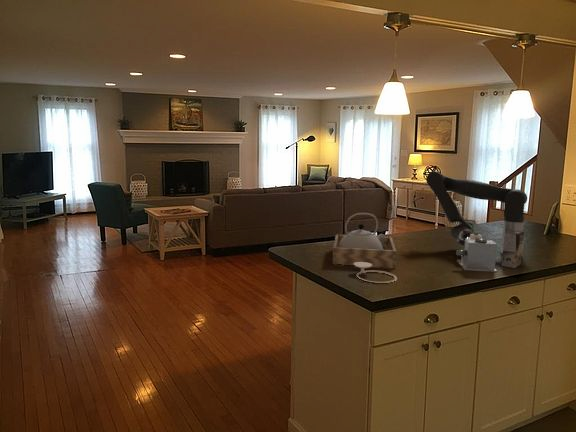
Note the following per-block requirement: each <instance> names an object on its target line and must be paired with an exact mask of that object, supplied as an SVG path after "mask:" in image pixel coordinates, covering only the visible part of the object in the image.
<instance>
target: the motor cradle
mask: <svg viewBox="0 0 576 432" xmlns="http://www.w3.org/2000/svg"><path fill="white" fill-rule="evenodd" d="M497 247H498V244H497V243H496V242H495V241H494V240H490V239H489V240H488V239H487V238H483V237H482V238H475V240H467V239H465V245H464V249H456V253H455V254H456V256H461V257H460V258H461V259H460V258H459V259H456V262H457V263H458V264H459V265H460V266H461V268H462V269H463V270H464V271H471V272H472V271H476V272H492V273H494V272H495V273H498V270H497V269H496V268H495V267H496V260H497V251H498V250H497Z"/></svg>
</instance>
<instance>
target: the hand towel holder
mask: <svg viewBox="0 0 576 432" xmlns="http://www.w3.org/2000/svg"><path fill="white" fill-rule="evenodd" d="M353 264H354V265H355V266H354V267H355V268H360V271H359V272H358V273H356V276H357V277H358V278H359V279H362V280H364V281H369V282H375V283H389V284H391V283H390V282H393V283H395V282H396V281H397V280H398V278H397V276H396V275H395V274H393V273H391V272H388V271H384V270H373V269H371V270H365V269H369V268H372V267H371V266H372V264H371V263H367V262H355V263H353ZM366 272H378V273H377V274H382V273H385V274H384V275H387V274H388V275H387V276H390V275H391V276H390V277H392V276H393V277H392V278H394V279H392V280H387V281H373V280H367V279H364V278H362V277H360V275H362V274H361V273H365V274H367V273H366ZM359 274H360V275H359ZM358 275H359V276H358ZM357 277H356V278H357ZM359 279H358V280H359ZM394 281H395V282H394Z"/></svg>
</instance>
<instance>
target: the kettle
mask: <svg viewBox="0 0 576 432" xmlns="http://www.w3.org/2000/svg"><path fill="white" fill-rule="evenodd" d="M360 215H363V216H365V215H366V216H371V217H372V218H374V219H375V222H376V226H375V230H374V231H373V233H372V232H371V231H369V230H364V228H365V226H364V224H363V223H359V224H358V229H356V230H352V231H350V232H348V229H347V228H348V227H347V226H348V223H349V221H350V220H351V219H352V218H355V216H360ZM344 225H345V226H344V231H345V234H344V235H345V236H344V237H343V238H342V239H341V241H340V243H339V245H338V248H356V249H376V250H383V247H382V244H381V242H380V241H381V240H382V239H383V237H386V235H385V234H383V233H380V234H378V235H376V234H377V231H378V229H379V221H378V218H377V217H376V215H375V214H372V213H368V212H357V213H355V214H352V215H350V216H349V217H348V218H347V219H346V221H345V224H344Z"/></svg>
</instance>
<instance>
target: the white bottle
mask: <svg viewBox="0 0 576 432" xmlns="http://www.w3.org/2000/svg"><path fill="white" fill-rule="evenodd" d="M475 238H483V235H482V234H480V233H479V231H474V234H470V240H475Z"/></svg>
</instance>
